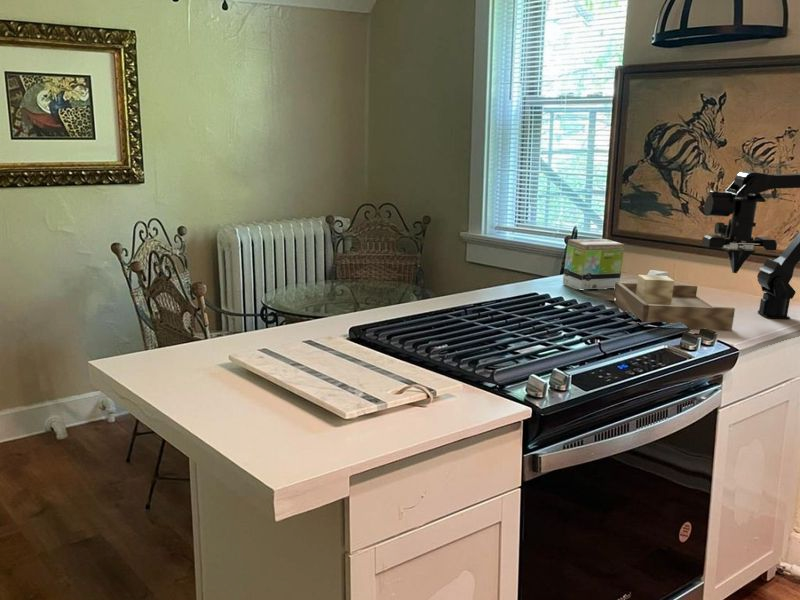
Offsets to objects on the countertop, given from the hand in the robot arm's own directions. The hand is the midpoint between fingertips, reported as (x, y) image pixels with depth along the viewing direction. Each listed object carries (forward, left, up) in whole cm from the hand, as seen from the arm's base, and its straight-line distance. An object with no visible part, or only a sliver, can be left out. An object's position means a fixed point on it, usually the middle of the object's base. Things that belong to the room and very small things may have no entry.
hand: (734, 272), depth 218 cm
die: (+15, -17, -12) cm, 26 cm away
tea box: (+32, -28, -12) cm, 44 cm away
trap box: (+19, +4, -12) cm, 23 cm away
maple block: (+23, +4, -9) cm, 25 cm away
